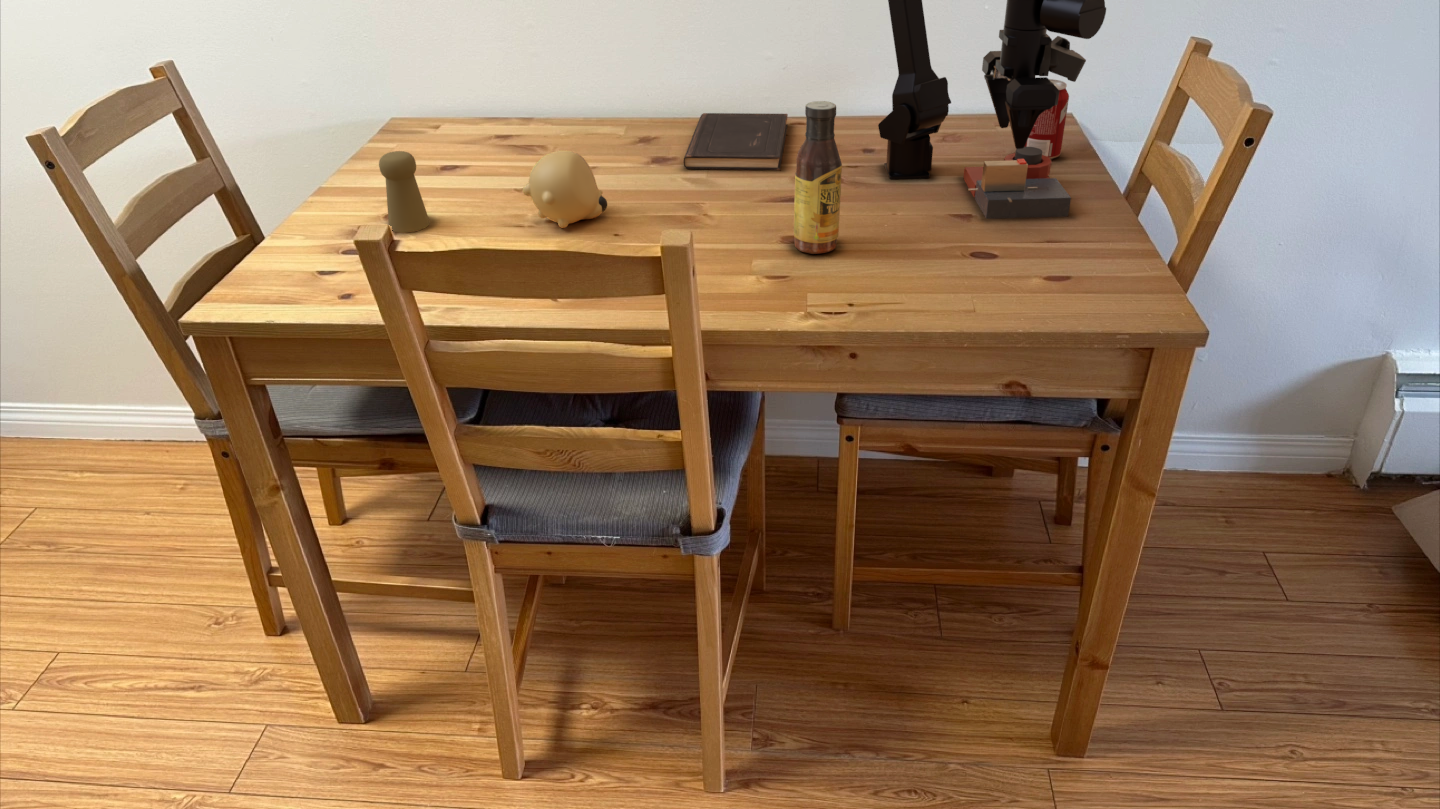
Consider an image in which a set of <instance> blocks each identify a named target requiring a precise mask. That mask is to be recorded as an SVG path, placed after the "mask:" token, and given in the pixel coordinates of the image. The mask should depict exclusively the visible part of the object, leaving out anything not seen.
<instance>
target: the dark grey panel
mask: <svg viewBox="0 0 1440 809" xmlns="http://www.w3.org/2000/svg"><path fill="white" fill-rule="evenodd" d="M981 183H982V180H977V182H976V189H969V188H967V191H968V192H969V191H970V192H971V191H972V190H976V191H975V197H974V200H975V202H976V204H977V205H978V207H979V209H980V211H981V212H982V214H983V216H984V218H985V219H986V220H987V219H988V220H989V219H990V220H991V219H1024V218H1025V219H1026V218H1027V219H1028V218H1030V219H1031V218H1058V217H1059V218H1062V217H1063V218H1064V217H1069V213H1070V206H1071V203H1072V202H1071V201H1072V196H1070V194H1069V192H1067V191H1066V189H1065V188H1064V187H1063V185H1062V184H1061V183H1060V182H1059V180H1058V178H1057V177H1050V178H1042V179H1026V183H1025V190H1024V191H992V192H984V191H983V189H982V188H981Z"/></svg>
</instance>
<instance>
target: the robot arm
mask: <svg viewBox="0 0 1440 809" xmlns="http://www.w3.org/2000/svg"><path fill="white" fill-rule="evenodd" d="M887 2H888V10H889V18H890V23H891V29H892V37H893V43H894V51H895V58H896V65H897V72H898V76H897V79H896V82H895V86H894V88H893V90H892V94H891V98H892V99H891V104H892V106H891V107H892V108H891V109H892V110H891V111H890V112H889V114H888V115H886V116H885V117H884V118H883V119H882V120H881V121H880V122H879V123H878V124H877V127H878V132H879V137H880V138H881V139H883V140H887V146H886V147H887V148H886V161H885V163H883V165H884V166H883V167H884V169H885V172H886V175H887V177H888V179H889V180H913V179H914V180H915V179H919V180H920V179H930V177H931V176H930V175H931V174H930V171H932V166H933V165H932V164H933V153H934V146H933V144H932V142H931V136H930V135H933V134H937V133H939V130H940V129H941V125H942V123H943V122H945V119H946V118H947V117H948V115H949V108H950V106H949V105H950V104H952V100H951V98H950V95H949V81H948V79H947V77H946V76H943V77H939V76H938V75H937V74H936V72H935V70H933V68H932V64H931V63H932V62H931V58H930V57H931V56H930V48H929V44H928V43H929V42H928V36H927V35H928V33H927V27H926V20H925V14H924V5H923V0H887ZM1106 14H1107V7H1106V2H1105V0H1006V6H1005V15H1004V23H1003V29H999V30H998V31H999V32H998V38H999V39H1000V40H1001V48H1000V50H990V51H988V53H986V55H984V56H983V57H982V65H981V66H982V67H981V71H982V72H983V74H984V76H983V78H984V80H985V83H986V86H987V90H988V93H989V96H990V99H991V102H992V105H993V108H994V112H995V116H996V119H997V122H998V126H999V127H1000V128H1001V129H1007V128H1008V127H1009V125H1010V129H1011V134H1012V138H1013V144H1014V147H1015V149H1022V148H1024V146H1025V144H1026V142H1027V140H1028V137H1029V135H1030V133H1031V131H1032V128H1033V126H1034V124H1035V122H1036V120H1037V118H1038V116H1039V115H1040V114H1041V113H1043V112H1044V111H1045V110H1049V109H1051V108H1052V107H1053V106H1056V105H1058V98H1059V92H1060V91H1059V90H1058V89H1057V87H1056V86H1055V85H1054V84H1053V83H1052V82H1051V81H1050V80H1049V79H1050V78H1048V76H1049V72H1050V73H1052V74H1055V75H1058V76H1060V77H1063V78H1065V79H1067V81H1070V82H1073V83H1076V82H1077V79H1078V77H1079V75H1080V74H1081V72H1082V69H1083V68H1084V66H1085V64H1086V62H1087V59H1086V58H1084V57H1083V56H1082V55H1081V54H1080V53H1078V52H1077V51H1075V50H1074V49H1071V42H1070V40H1068V39H1067V38H1065V37H1062V36H1060V35H1064V36H1070V37H1075V38H1078V39H1085V40H1090V39H1092V38H1093V37H1095V36H1096V35H1097V33H1099V31H1100V29H1101V28H1102V26H1103V23H1104V22H1105V18H1106ZM1047 32H1050V33H1055V34H1060V35H1057V36H1056V37H1054V38H1053V39H1052V38H1051V36H1050V35H1049V34H1048V33H1047ZM1036 76H1039V77H1036Z"/></svg>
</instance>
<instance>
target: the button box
mask: <svg viewBox="0 0 1440 809" xmlns="http://www.w3.org/2000/svg"><path fill="white" fill-rule="evenodd" d="M1014 159H1015V152H1013V153H1009V154H1007V155H1006V156H1005V157H1004V158H1003V161H1010V160H1014ZM1052 162H1053V161H1052V159H1051V160H1050V158H1049V157H1047V156H1044V155H1042V159H1041V163H1040V164H1036V165H1028V168H1027V176H1026V179H1042V178H1051V177H1050V176H1049V175H1050V174H1051V169H1052ZM982 174H983V166H964V170H963V178H962V179H963V180H964V182H965V184H966V186H967V187H968V188H967V189H976V182H977V180H982ZM975 191H976V190H972V191H970V193H971V195H972V197H973V198H975Z"/></svg>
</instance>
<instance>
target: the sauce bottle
mask: <svg viewBox="0 0 1440 809" xmlns="http://www.w3.org/2000/svg"><path fill="white" fill-rule="evenodd" d="M804 111H805V112H804V113H805V118H806V119H805V120H806V122H805V134H804V135H805V139H804V141H803V143H802V144H801V145H800V147H799V149H798V151H797V155H796V163H795V164H796V165H795V166H796V167H795V173H794V203H793V237H794V247H795V249H797V250H798V251H799V252H802V253H806V254H811V255H814V254H815V255H816V254H817V255H818V254H826V253H829V252H833V251H834V250H835V248H836V247H837V243H838V238H839V236H840V235H839V234H840V216H841V215H840V211H841V195H842V194H841V193H842V192H841V191H842V174H843V163H842V160H841V157H840V153H839V150H838V146H837V142H836V139H835V136H836V135H835V119H836V117H837V105H836V104H835V103H834V102H832V101H825V100H818V101H811V102H807V103H806V104H805V110H804Z"/></svg>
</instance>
